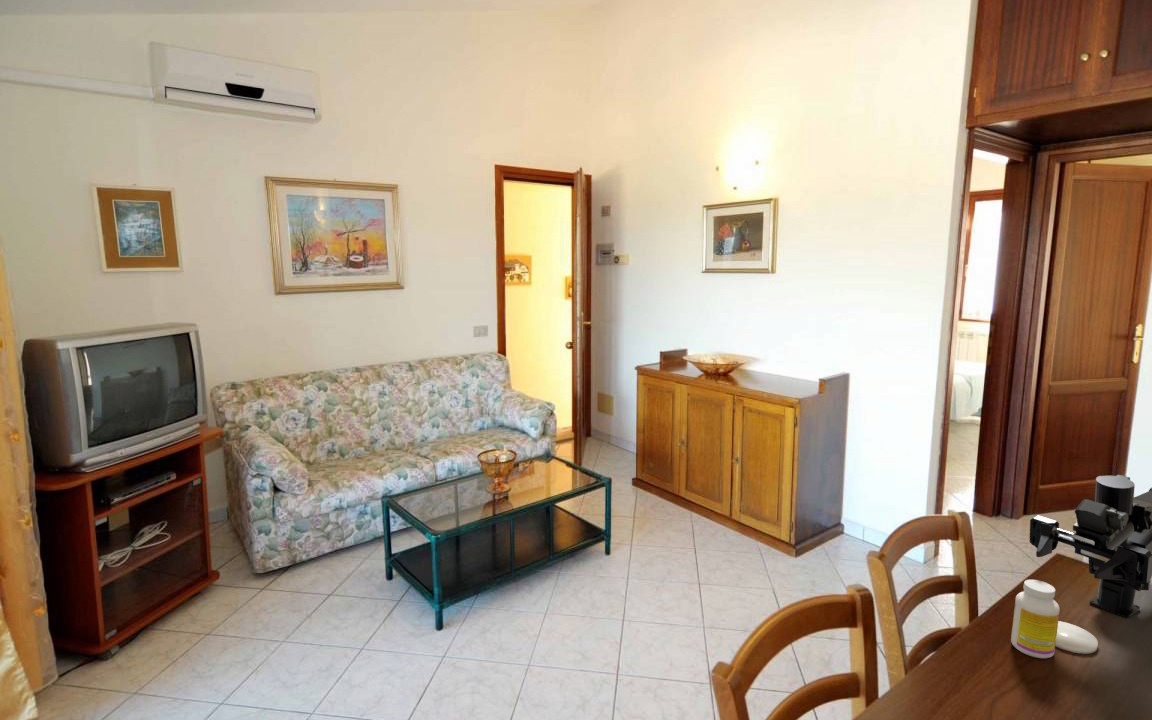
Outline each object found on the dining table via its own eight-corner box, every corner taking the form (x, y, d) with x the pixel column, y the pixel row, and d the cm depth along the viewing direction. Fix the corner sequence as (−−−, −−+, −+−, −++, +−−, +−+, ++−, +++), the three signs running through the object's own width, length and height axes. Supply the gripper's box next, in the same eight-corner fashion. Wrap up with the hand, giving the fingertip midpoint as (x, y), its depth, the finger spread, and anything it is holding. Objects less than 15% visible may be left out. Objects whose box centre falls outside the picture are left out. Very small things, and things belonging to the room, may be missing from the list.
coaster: (1051, 619, 125) (1051, 615, 125) (1106, 643, 117) (1106, 638, 117) (1028, 634, 120) (1029, 629, 120) (1084, 659, 113) (1085, 654, 113)
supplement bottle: (1061, 662, 112) (1070, 597, 110) (1021, 657, 114) (1028, 593, 111) (1042, 639, 119) (1050, 578, 116) (1003, 635, 120) (1010, 575, 118)
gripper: (1051, 481, 127) (1011, 508, 120) (1171, 513, 111) (1131, 547, 104) (1050, 528, 130) (1009, 558, 123) (1166, 567, 114) (1127, 603, 107)
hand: (1065, 564), depth 114 cm, fingers open, 9 cm apart
